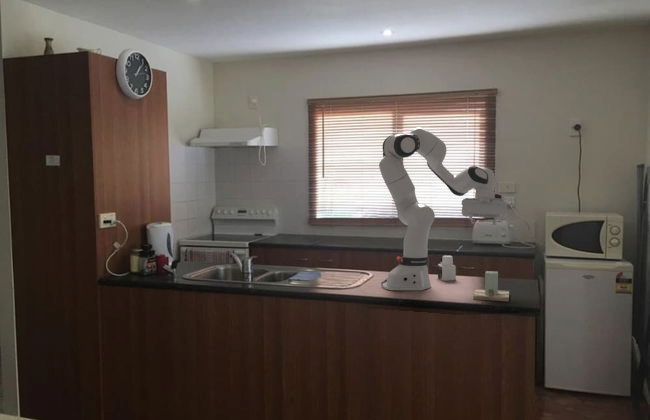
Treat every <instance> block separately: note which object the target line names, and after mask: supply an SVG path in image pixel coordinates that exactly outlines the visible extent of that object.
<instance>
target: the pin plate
mask: <svg viewBox="0 0 650 420" xmlns="http://www.w3.org/2000/svg"><path fill="white" fill-rule="evenodd" d="M473 300H479V301H492V302H509V301H510V290H500V289H498V294H497V295H494V290H492V289H489V294H485V289H479V288H476V289H475V290H474V293H473Z"/></svg>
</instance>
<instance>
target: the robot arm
mask: <svg viewBox="0 0 650 420" xmlns="http://www.w3.org/2000/svg"><path fill="white" fill-rule="evenodd" d="M447 150H448V149H447V146H446V144H445V142H444V140H442V139H440V138H439V137H437V136H436V135H435V134H434V133H432V132H430V131H429V130H426V129H424V128H423V127H416V128H414V129H412V130H411V131H410V133H396V134H393V135H389V136H387V137H386V138H385V139H384V140H383V143H382V156H383V158H382V159H381V160H380V162H379V164H378V166H379V168H378V169H379V171H380V175H381V177H382V179H383V182H384V183H385V185H386V187H387V189H388V191H389V193H390V195H391V197H392V199H393V202H394V205H395V208H396V212H397V218H398V220H399V221H400V222H401V223H402V224H403V225H406V226H407V230H406V234H405V237H404V238H403V256H401V257H400V256H397V257H396V261H398V262H399V263H398V265H397V266H395V268H393V269H392V270H390V272H388V274H387V278H386V282H382V284H381V287H382V288H383V289H385V290H388V291H424V290H426V289H430V288H432V285H431V281H430V276H429V275H430V274H429V266H430V265H429V263H430V261H429V256H428V254H429V253H428V246H429V245H428V243H429V242H428V241H429V236H430V231H431V228H432V225H433V223H434V222H435V219H436V216H435V215H436V214H435V212H434V209H432V208H431V207H430V206H429V205H427V204H424V203H420V202H419V201H418V198H417V196H416V187H415V185H414V183H413V181H412V179H411V177H410V175H409V173H408V172H407V170H406V168H405V165H404V158H409V157H411V156H413V155H414V154H415V153H418V154H419V155H420V156H421V157H423V158H424V159H425V160H426V165H427V167H428V168H429V170H430V171H431V172H432V173H433V174H434V175H435V176H436V177H437V178H438V179H439V180H440V181H441V182H443V183H444V185H446V187H447V188H448V189H449V191H450V192H451V193H452V194H453V195H455V196H458V197H462V196H465V195H466V194H467V193H468V192H471V190H473V189H474V190H475V194H474V195H475V196H474V198H471V197H465V198H463V199H462V200H461V206H462V207H461V215H462V216H463V217H468V218H469V220H470V223H471V224H472V225H475V223H476V222H475V218H473V217H477V218H492V226H496V224H497V223H498V221H499V219H506V217H507V216H508V209H507V208H508V207H507V203H506V201H505V196H504V195H502V194H499V193H495V188H496V178H495V172H494V171H493V170H492V169H491V168H488V167H482V168H481V167H479V166H477V165H470V166H468V167H467V168H465V169H464V170H462V171H461V172H459V173H458V174H452V173H451V171H449V170H448V169H447V168H446V167H445V166H444V164H443V162H444V160H445V158H446V155H447ZM493 218H494V219H493Z"/></svg>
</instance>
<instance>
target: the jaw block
mask: <svg viewBox="0 0 650 420" xmlns="http://www.w3.org/2000/svg"><path fill="white" fill-rule="evenodd" d="M498 279H499V271H492V270H491V271H490V270H489V271H488V270H485V273H484V290H485V294H489V289H492V290H494V295H497V294H498V290H499V280H498Z"/></svg>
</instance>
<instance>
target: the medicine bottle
mask: <svg viewBox="0 0 650 420" xmlns="http://www.w3.org/2000/svg"><path fill="white" fill-rule="evenodd" d="M453 260H454V256H452V255H450V254H442V255H441V256H440V263H438V264H437V279H439V280H440V281H441V282H442V281H456V280H457V278H456V276H457V275H456V274H457V270H456V269H457V267H456V265H455V264H454V261H453Z"/></svg>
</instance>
